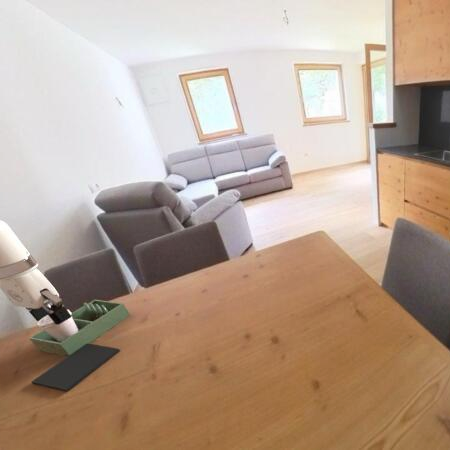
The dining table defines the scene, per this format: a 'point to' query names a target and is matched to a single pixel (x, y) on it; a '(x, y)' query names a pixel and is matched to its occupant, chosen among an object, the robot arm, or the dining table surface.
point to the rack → (84, 327)
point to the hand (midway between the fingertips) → (54, 318)
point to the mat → (75, 367)
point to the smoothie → (58, 327)
